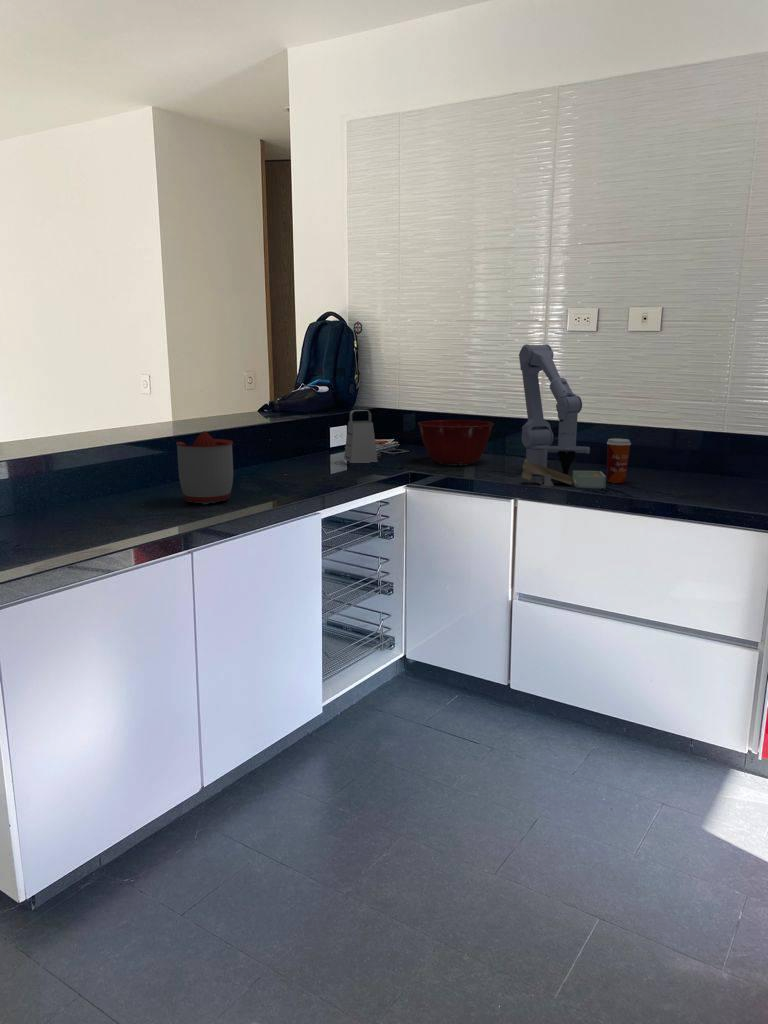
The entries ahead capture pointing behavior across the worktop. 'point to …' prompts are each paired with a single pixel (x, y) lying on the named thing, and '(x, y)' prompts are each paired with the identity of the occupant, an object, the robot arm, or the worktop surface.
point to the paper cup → (617, 459)
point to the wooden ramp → (544, 472)
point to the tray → (589, 479)
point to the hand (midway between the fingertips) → (565, 474)
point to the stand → (546, 480)
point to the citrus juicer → (205, 468)
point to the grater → (360, 441)
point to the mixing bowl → (455, 440)
